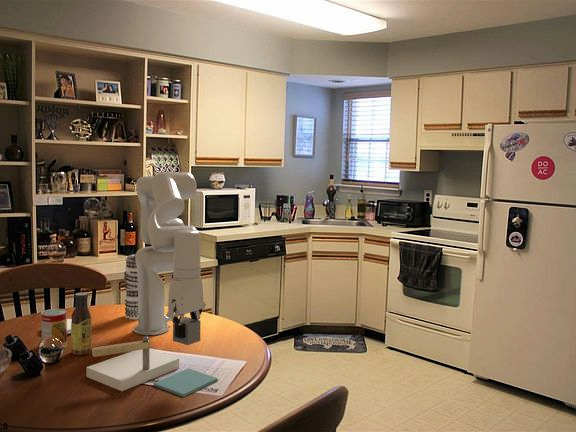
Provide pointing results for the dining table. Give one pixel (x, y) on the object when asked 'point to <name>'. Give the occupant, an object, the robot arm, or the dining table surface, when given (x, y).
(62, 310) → the canned food
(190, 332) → the grey stone cube
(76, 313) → the sauce bottle
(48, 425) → the dining table surface
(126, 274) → the decorative candle
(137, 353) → the white slab
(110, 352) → the lever
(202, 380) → the mat
